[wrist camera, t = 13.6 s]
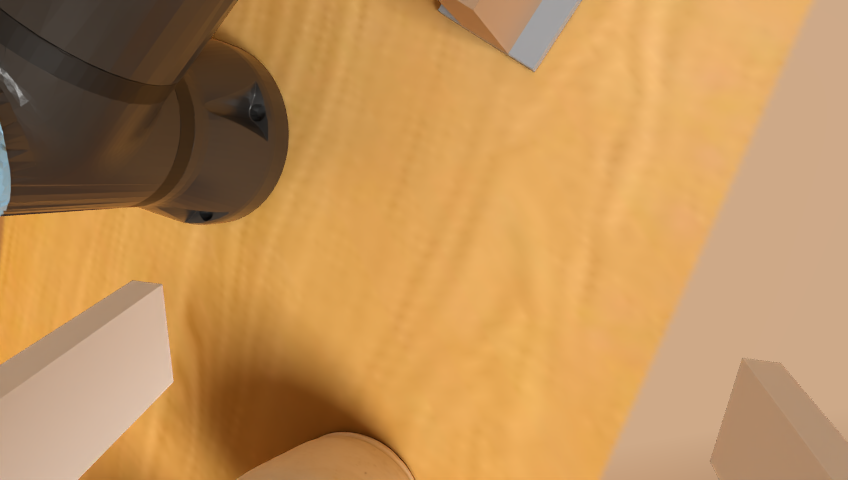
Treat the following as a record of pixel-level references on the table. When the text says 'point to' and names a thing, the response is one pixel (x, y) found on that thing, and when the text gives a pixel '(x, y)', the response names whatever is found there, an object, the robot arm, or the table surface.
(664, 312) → the table surface
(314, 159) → the table surface
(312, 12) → the table surface
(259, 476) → the jug
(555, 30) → the strip
